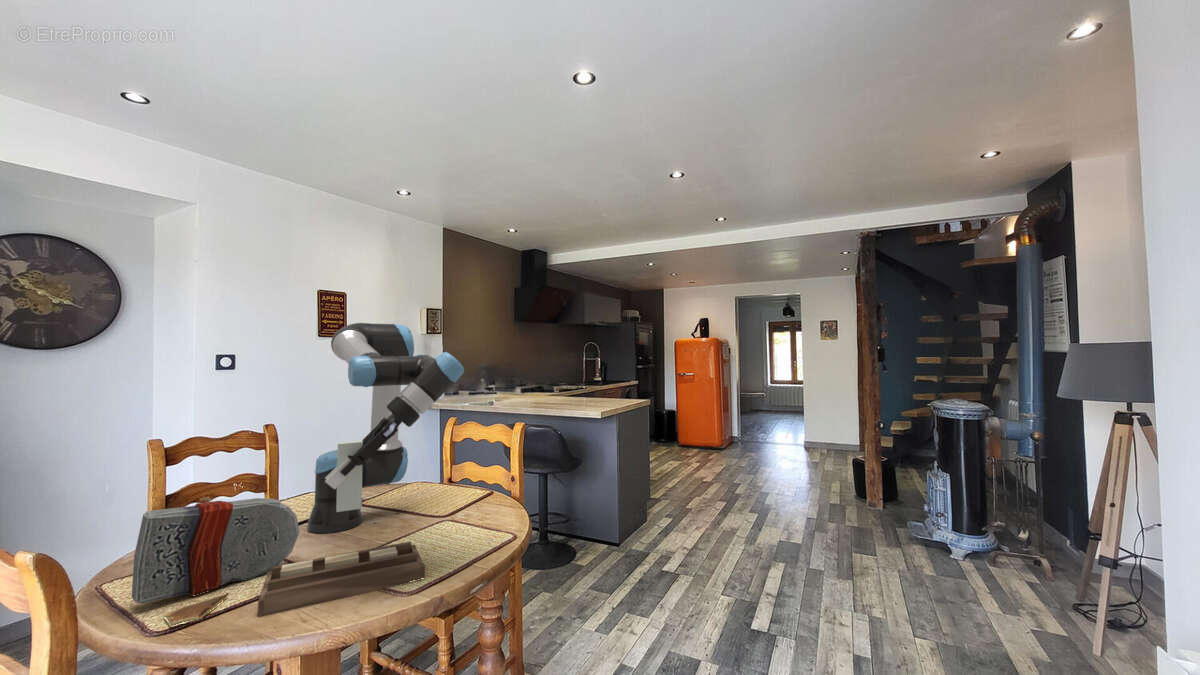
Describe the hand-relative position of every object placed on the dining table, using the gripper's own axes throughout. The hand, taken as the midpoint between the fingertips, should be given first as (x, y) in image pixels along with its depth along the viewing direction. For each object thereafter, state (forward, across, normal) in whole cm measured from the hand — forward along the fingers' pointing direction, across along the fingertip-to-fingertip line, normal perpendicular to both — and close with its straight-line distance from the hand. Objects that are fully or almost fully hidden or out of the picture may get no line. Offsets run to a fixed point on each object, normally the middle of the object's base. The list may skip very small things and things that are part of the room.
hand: (330, 483), depth 106 cm
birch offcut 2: (+15, +7, -19) cm, 25 cm away
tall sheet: (+2, 0, -7) cm, 7 cm away
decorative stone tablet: (+32, +18, -2) cm, 37 cm away
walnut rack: (+14, +5, -20) cm, 25 cm away
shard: (+35, +5, 0) cm, 35 cm away
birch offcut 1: (+21, +7, -13) cm, 26 cm away
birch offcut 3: (+9, +7, -26) cm, 28 cm away
